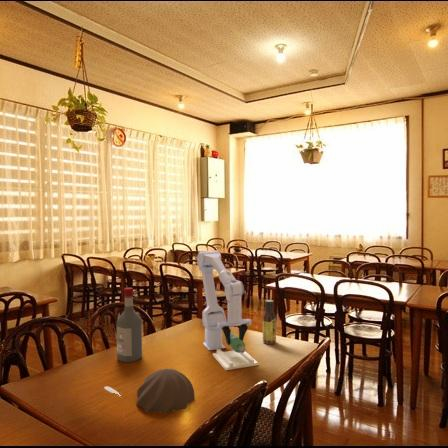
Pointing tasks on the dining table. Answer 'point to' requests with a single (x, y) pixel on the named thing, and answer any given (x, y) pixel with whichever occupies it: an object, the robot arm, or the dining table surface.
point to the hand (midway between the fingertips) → (234, 343)
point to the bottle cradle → (234, 359)
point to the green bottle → (236, 343)
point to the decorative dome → (165, 391)
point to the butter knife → (111, 390)
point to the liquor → (129, 331)
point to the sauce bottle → (269, 323)
